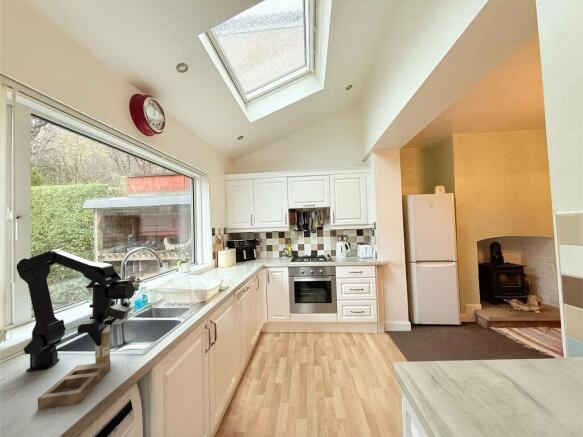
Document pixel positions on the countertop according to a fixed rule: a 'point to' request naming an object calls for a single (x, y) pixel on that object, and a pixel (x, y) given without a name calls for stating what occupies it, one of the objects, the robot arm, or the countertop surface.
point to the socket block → (74, 385)
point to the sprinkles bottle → (103, 347)
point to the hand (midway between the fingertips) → (102, 342)
